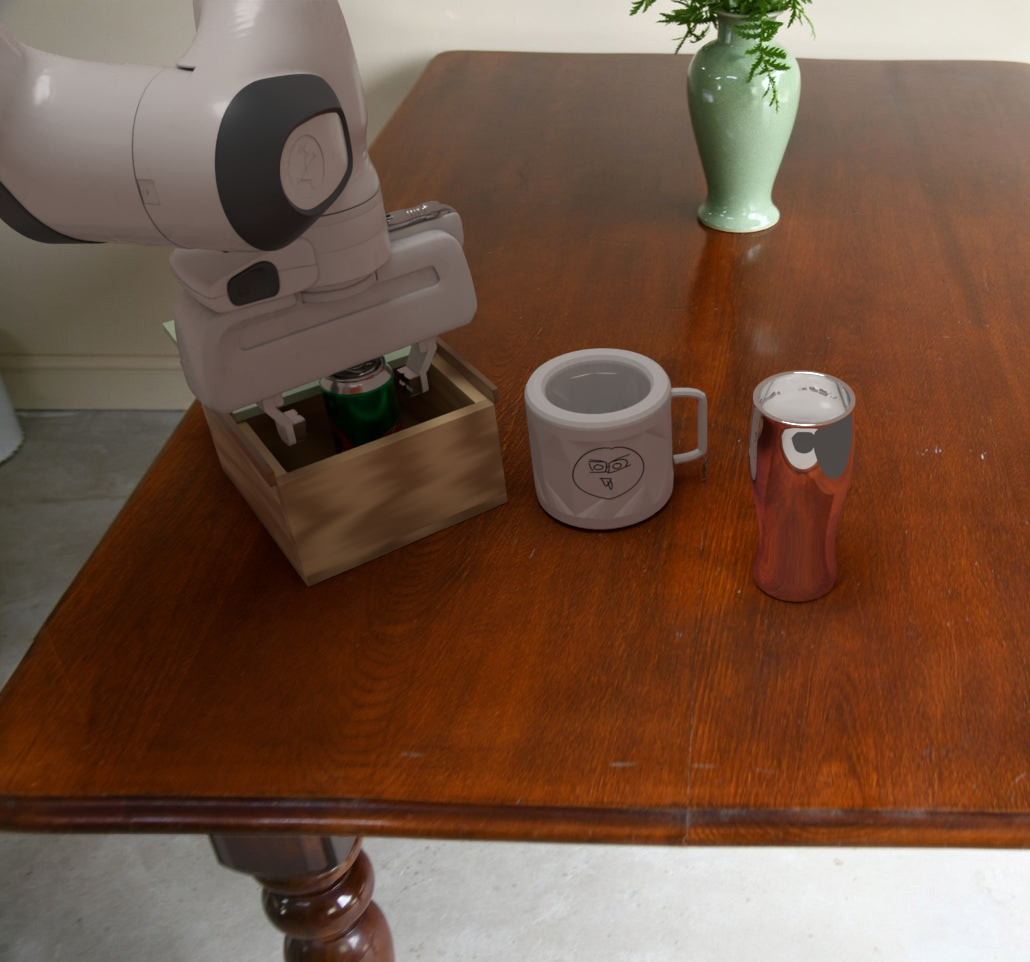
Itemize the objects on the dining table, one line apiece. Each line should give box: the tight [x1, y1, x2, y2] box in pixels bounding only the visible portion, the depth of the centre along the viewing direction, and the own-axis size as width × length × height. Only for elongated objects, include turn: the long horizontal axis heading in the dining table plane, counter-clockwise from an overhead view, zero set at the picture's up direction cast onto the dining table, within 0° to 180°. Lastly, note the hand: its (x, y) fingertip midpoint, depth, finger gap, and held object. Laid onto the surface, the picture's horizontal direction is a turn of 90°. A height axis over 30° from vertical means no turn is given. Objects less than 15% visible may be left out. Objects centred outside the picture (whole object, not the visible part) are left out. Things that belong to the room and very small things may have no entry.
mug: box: [523, 347, 708, 531], centre depth 86 cm, size 14×11×10 cm
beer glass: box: [748, 370, 857, 603], centre depth 76 cm, size 7×7×15 cm
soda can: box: [319, 356, 405, 454], centre depth 82 cm, size 5×5×12 cm
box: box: [179, 335, 509, 588], centre depth 86 cm, size 17×18×10 cm
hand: (356, 414), depth 81 cm, fingers open, 8 cm apart
